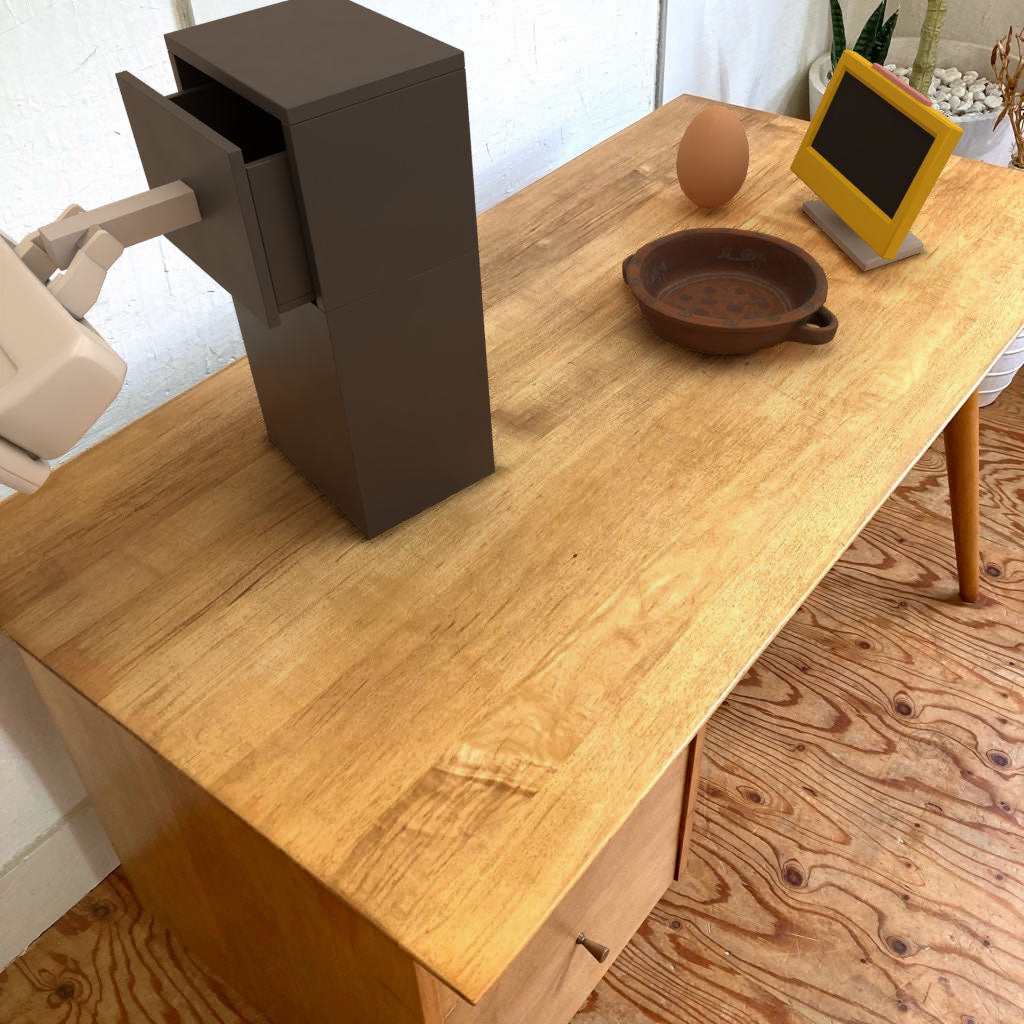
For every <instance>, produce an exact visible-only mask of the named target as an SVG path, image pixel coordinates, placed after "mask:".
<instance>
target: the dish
mask: <svg viewBox="0 0 1024 1024" xmlns="http://www.w3.org/2000/svg"><path fill="white" fill-rule="evenodd" d="M621 274H622V279H623V282H624V284H625V285H626V286H628V289H629V291H630V293H631V294H632V296H633V297H634V298H635V299H636V300H637V303H638V306H639V308H640V311H641V313H642V316H643V317H644V319H645V320H646V322H647V324H648V325H649V326H650V328H651V329H652V330H653V331H654V332H655V333H656V334H657V335H658V336H660V337H661V338H663V339H664V340H666V341H668V342H670V343H672V344H674V345H675V346H677V347H680V348H683V349H686V350H690V351H693V352H698V353H703V354H708V355H722V356H723V355H725V356H726V355H735V354H736V355H737V354H745V353H746V354H748V353H752V352H753V353H754V352H758V351H762V350H766V349H767V348H768V349H769V348H772V347H774V346H778V345H781V344H783V343H795V344H796V343H797V344H803V345H809V346H823V345H827V344H829V343H831V342H832V341H833V340H834V339H835V336H836V334H837V331H838V329H839V320H838V318H837V315H836V314H834V313H833V312H832V311H831V310H830V309H829V308H827V307H826V306H825V305H824V304H825V303H827V298H828V292H829V291H828V290H829V284H828V283H829V282H828V278H827V275H826V273H825V270H824V268H823V267H822V265H820V263H819V262H818V261H817V259H816V258H814V257H813V255H811V253H809V252H808V251H806V250H805V249H803V248H802V247H800V246H799V245H797V244H794V243H792V242H791V241H788V240H785V239H783V238H780V237H777V236H774V235H771V234H767V233H763V232H759V231H755V230H748V229H742V228H736V227H735V228H734V227H696V228H689V229H682V230H679V231H675V232H672V233H669V234H667V235H663V236H661V237H658V238H657V239H654V240H652V241H650V242H648V243H645V244H644V245H642V246H641V247H640V248H638V249H637V250H636V252H634V253H632V254H630V255H628V256H627V257H626V258H625V259H624V260H623V261H622V264H621ZM810 325H813V326H810ZM815 326H816V327H815Z"/></svg>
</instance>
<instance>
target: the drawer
mask: <svg viewBox="0 0 1024 1024" xmlns="http://www.w3.org/2000/svg"><path fill="white" fill-rule="evenodd" d="M114 76H115V80H116V83H117V86H118V89H119V92H120V96H121V100H122V102H123V106H124V110H125V112H126V116H127V120H128V122H129V127H130V129H131V133H132V135H133V140H134V142H135V146H136V150H137V152H138V156H139V159H140V162H141V166H142V169H143V173H144V176H145V179H146V182H147V183H146V184H147V186H148V189H149V190H145V191H142V192H140V193H137V194H134V195H131V196H128V197H125V198H122V199H119V200H116V201H114V202H113V201H112V202H111V203H110V202H109V203H107V204H105V205H102V206H98V207H96V208H93V209H89V210H86V211H87V212H84V213H81V214H78V215H75V216H72V217H69V218H66V219H63V220H60V221H57V222H54V221H53V222H54V223H51V222H50V223H51V224H49V223H47V224H48V225H47V224H46V226H45V225H42V226H40V227H37V230H38V231H39V233H40V236H41V239H42V241H43V244H44V246H45V249H46V251H47V254H48V257H49V259H50V260H51V261H52V262H53V263H54V264H55V265H56V266H57V267H58V270H59V271H60V272H63V271H67V269H68V267H69V266H70V264H71V262H72V260H73V259H74V257H75V255H76V253H77V252H78V250H79V247H78V246H77V245H76V244H75V243H76V242H77V241H78V239H79V238H80V237H81V236H82V235H83V234H85V233H86V232H87V229H88V228H89V227H90V226H91V225H94V224H98V225H100V226H102V227H103V228H104V229H105V230H107V231H108V232H109V233H110V234H111V235H112V236H113V237H115V238H116V239H117V240H118V241H119V242H120V243H121V244H122V245H123V248H124V249H127V248H130V247H132V246H135V245H138V244H141V243H143V242H147V241H149V240H152V239H154V238H157V237H161V236H163V237H164V238H165V239H167V240H168V242H170V243H171V244H172V245H173V246H174V247H175V248H177V249H178V250H179V251H180V252H181V253H183V254H184V255H185V256H186V257H187V258H188V259H189V260H191V262H193V263H194V264H195V265H196V266H197V267H198V268H200V270H202V272H204V273H205V274H206V275H208V277H210V278H211V279H212V280H213V281H215V282H216V283H217V284H218V285H219V286H220V287H221V288H222V289H224V290H225V291H226V292H227V293H228V294H229V295H230V296H231V295H232V296H233V297H234V298H235V299H236V300H237V301H238V302H240V303H241V304H242V305H243V306H244V307H245V308H246V309H248V310H249V311H250V312H251V313H252V314H253V315H254V316H256V317H257V318H258V319H259V320H260V321H261V322H262V323H264V324H265V325H266V326H267V327H268V328H269V329H272V328H274V327H277V326H279V325H281V321H280V317H279V314H282V313H285V312H287V311H289V310H292V309H294V308H297V307H299V306H301V305H304V304H306V303H309V302H311V301H313V300H316V295H315V290H314V285H313V280H312V275H311V270H310V265H309V260H308V255H307V250H306V244H305V239H304V234H303V229H302V224H301V219H300V214H299V209H298V204H297V199H296V194H295V189H294V184H293V179H292V174H291V169H290V164H289V159H288V154H287V149H286V144H285V139H284V134H283V129H282V124H281V122H282V121H281V120H279V119H278V118H276V117H274V116H273V115H271V114H270V113H268V112H266V111H265V110H263V109H261V108H260V107H258V106H257V105H255V104H253V103H252V102H250V101H249V100H247V99H245V98H244V97H242V96H241V95H239V94H237V93H236V92H234V91H233V90H231V89H229V88H228V87H226V86H225V85H223V84H221V83H220V82H218V81H217V80H216V81H213V82H209V83H206V84H203V85H199V86H196V87H193V88H190V89H186V90H183V91H180V92H178V91H176V92H173V93H170V94H167V95H163V94H162V93H160V92H159V91H157V90H156V89H154V88H153V87H152V86H150V85H149V84H147V83H146V82H144V81H143V80H142V79H140V78H138V77H137V76H135V75H134V74H133V73H132V72H129V70H126V69H125V70H122V71H118V72H115V73H114ZM232 296H231V297H232Z"/></svg>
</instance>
